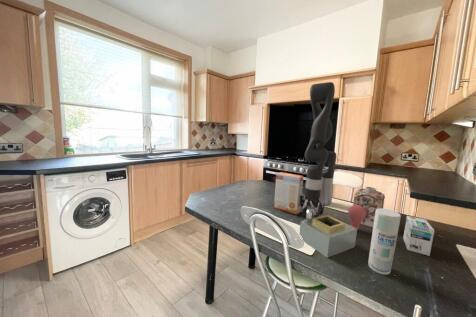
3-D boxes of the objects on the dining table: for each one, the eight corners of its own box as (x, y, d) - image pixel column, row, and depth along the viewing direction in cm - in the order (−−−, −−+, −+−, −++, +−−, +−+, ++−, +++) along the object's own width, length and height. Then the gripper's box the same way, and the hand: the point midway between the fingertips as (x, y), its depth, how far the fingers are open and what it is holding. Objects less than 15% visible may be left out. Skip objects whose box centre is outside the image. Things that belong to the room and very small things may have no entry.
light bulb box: (430, 256, 73) (435, 230, 72) (407, 250, 77) (411, 224, 75) (422, 243, 82) (427, 219, 81) (402, 238, 86) (406, 215, 84)
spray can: (369, 271, 65) (378, 214, 62) (365, 259, 70) (373, 206, 67) (393, 277, 62) (404, 218, 59) (387, 264, 68) (397, 210, 65)
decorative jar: (381, 221, 101) (386, 188, 98) (377, 229, 93) (383, 193, 90) (355, 214, 109) (359, 183, 106) (349, 221, 101) (354, 187, 98)
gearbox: (325, 230, 90) (327, 211, 89) (354, 247, 78) (357, 225, 76) (299, 238, 83) (301, 217, 81) (327, 257, 71) (329, 233, 69)
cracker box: (300, 211, 110) (304, 175, 106) (296, 215, 105) (299, 177, 102) (278, 205, 118) (280, 171, 115) (273, 208, 114) (275, 173, 111)
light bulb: (361, 227, 94) (364, 203, 92) (365, 234, 87) (369, 209, 86) (344, 224, 96) (347, 201, 95) (347, 231, 90) (350, 206, 88)
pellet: (309, 217, 103) (310, 208, 103) (315, 220, 100) (316, 211, 99) (304, 218, 101) (304, 209, 101) (310, 221, 98) (310, 212, 97)
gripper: (330, 190, 93) (326, 223, 96) (307, 182, 106) (304, 211, 109) (319, 192, 90) (315, 226, 92) (297, 184, 103) (294, 213, 105)
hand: (309, 218), depth 101 cm, fingers open, 6 cm apart
